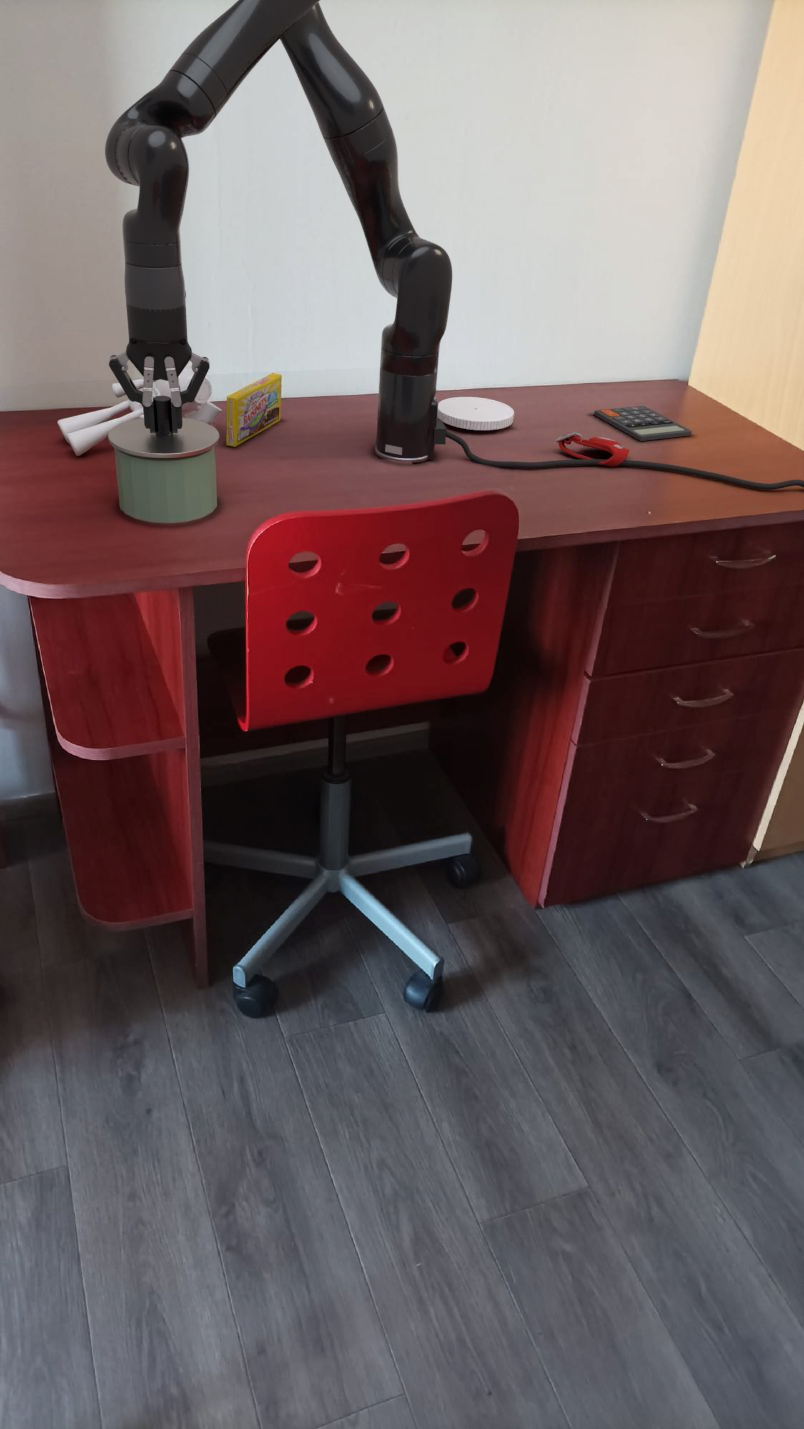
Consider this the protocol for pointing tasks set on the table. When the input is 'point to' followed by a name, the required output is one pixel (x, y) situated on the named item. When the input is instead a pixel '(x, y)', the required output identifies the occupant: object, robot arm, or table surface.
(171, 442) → the lid
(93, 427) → the toy robot
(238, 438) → the candy box
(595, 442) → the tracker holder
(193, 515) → the tin
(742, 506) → the table surface
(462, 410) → the plastic lid
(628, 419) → the calculator
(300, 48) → the robot arm
